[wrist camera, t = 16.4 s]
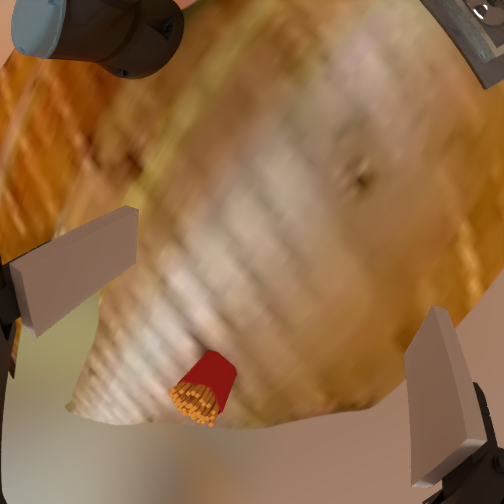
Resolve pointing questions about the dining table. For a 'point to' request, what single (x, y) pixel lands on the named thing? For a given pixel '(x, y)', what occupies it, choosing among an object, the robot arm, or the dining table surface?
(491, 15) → the wine glass
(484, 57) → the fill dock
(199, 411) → the french fries
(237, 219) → the dining table surface
